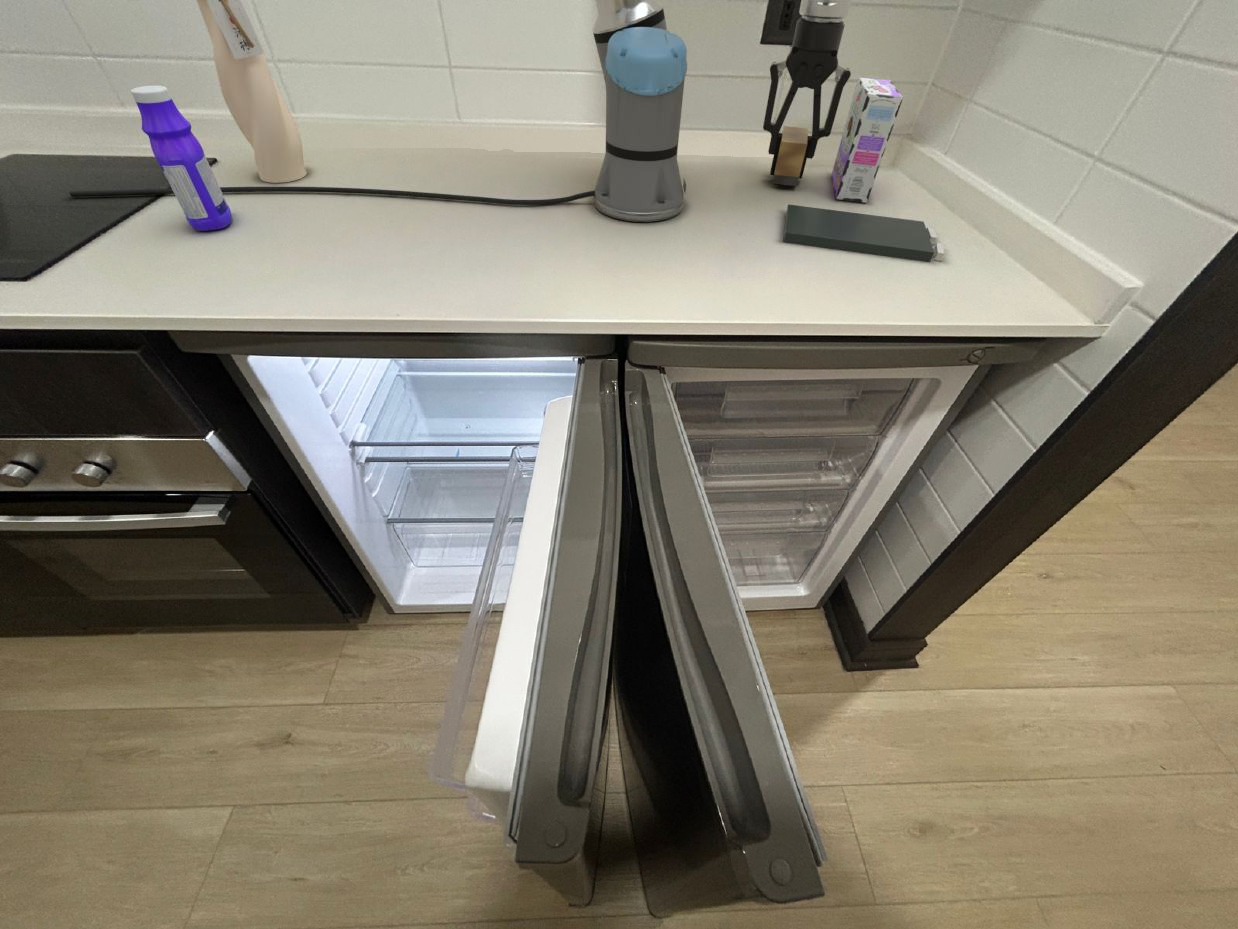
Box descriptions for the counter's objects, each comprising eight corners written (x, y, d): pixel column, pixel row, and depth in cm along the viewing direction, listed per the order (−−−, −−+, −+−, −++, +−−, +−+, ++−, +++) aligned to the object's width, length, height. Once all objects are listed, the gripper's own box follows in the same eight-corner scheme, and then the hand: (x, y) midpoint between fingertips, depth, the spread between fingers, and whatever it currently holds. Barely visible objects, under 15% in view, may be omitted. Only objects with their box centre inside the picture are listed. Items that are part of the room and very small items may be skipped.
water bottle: (326, 175, 100) (260, -33, 80) (282, 189, 94) (198, -30, 74) (291, 163, 103) (218, -39, 83) (245, 176, 98) (156, -36, 78)
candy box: (867, 204, 99) (904, 96, 87) (834, 200, 100) (866, 93, 88) (860, 178, 109) (892, 77, 97) (829, 175, 109) (858, 75, 97)
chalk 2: (934, 260, 84) (941, 261, 84) (937, 252, 83) (944, 253, 83) (933, 249, 87) (940, 250, 86) (936, 241, 86) (943, 242, 85)
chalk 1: (928, 244, 88) (934, 244, 88) (931, 236, 87) (938, 237, 87) (924, 233, 91) (930, 234, 91) (927, 226, 90) (933, 227, 90)
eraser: (772, 183, 102) (781, 141, 97) (775, 166, 109) (783, 125, 104) (797, 186, 101) (807, 143, 96) (798, 168, 108) (808, 128, 103)
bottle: (194, 217, 86) (126, 83, 73) (235, 212, 87) (176, 80, 75) (190, 235, 81) (116, 96, 68) (233, 230, 83) (169, 93, 70)
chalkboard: (783, 241, 87) (785, 232, 86) (786, 213, 95) (788, 204, 94) (930, 261, 83) (934, 252, 82) (920, 230, 92) (923, 221, 90)
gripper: (765, 17, 87) (737, 175, 104) (880, 25, 84) (833, 186, 101) (768, 11, 92) (741, 163, 109) (877, 19, 90) (832, 173, 106)
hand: (786, 174), depth 105 cm, fingers closed on eraser, 4 cm apart
